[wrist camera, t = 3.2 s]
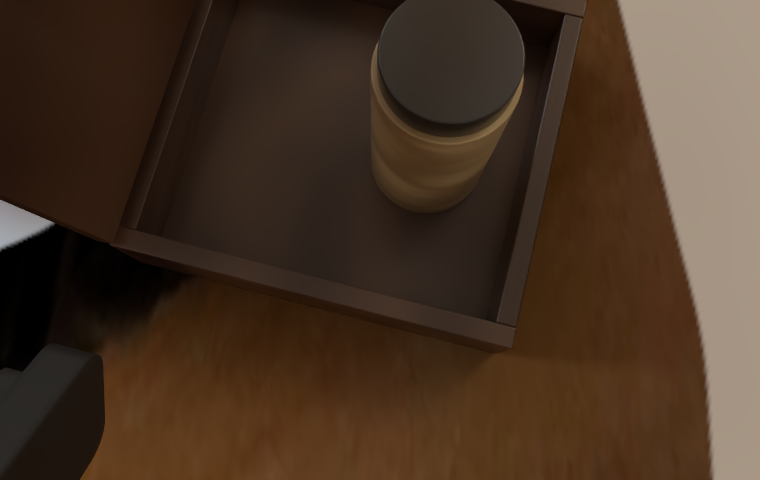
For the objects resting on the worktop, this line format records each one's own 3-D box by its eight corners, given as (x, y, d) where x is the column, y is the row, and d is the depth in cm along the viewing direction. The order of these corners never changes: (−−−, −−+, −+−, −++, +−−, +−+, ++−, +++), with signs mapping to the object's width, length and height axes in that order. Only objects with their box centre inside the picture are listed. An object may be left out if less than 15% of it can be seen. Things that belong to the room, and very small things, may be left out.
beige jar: (492, 122, 31) (547, 0, 22) (467, 225, 30) (513, 147, 21) (386, 96, 32) (392, -36, 22) (358, 198, 31) (352, 108, 21)
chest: (563, 43, 33) (587, 0, 29) (494, 353, 30) (511, 349, 26) (238, -35, 34) (222, -87, 30) (140, 262, 31) (108, 244, 27)
